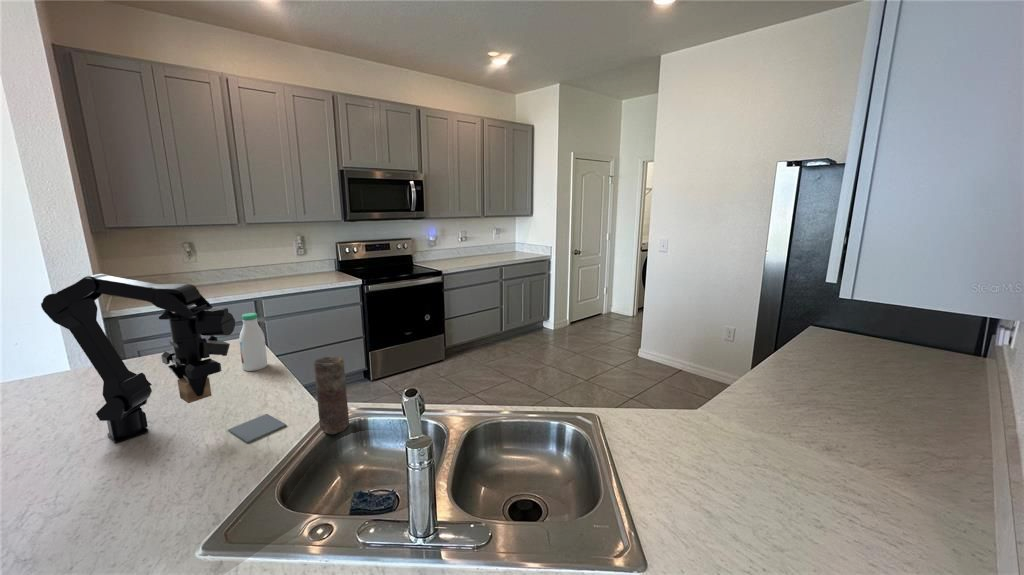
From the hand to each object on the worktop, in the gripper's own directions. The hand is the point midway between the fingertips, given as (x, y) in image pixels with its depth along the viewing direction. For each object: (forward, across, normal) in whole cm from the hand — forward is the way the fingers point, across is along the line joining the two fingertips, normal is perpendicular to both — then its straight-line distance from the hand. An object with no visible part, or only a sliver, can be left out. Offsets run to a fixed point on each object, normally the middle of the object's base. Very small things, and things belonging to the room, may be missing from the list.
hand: (195, 393), depth 105 cm
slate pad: (+11, -10, -9) cm, 18 cm away
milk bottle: (+11, +32, -29) cm, 45 cm away
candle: (+12, -26, -21) cm, 35 cm away
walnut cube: (+1, 0, 0) cm, 1 cm away
